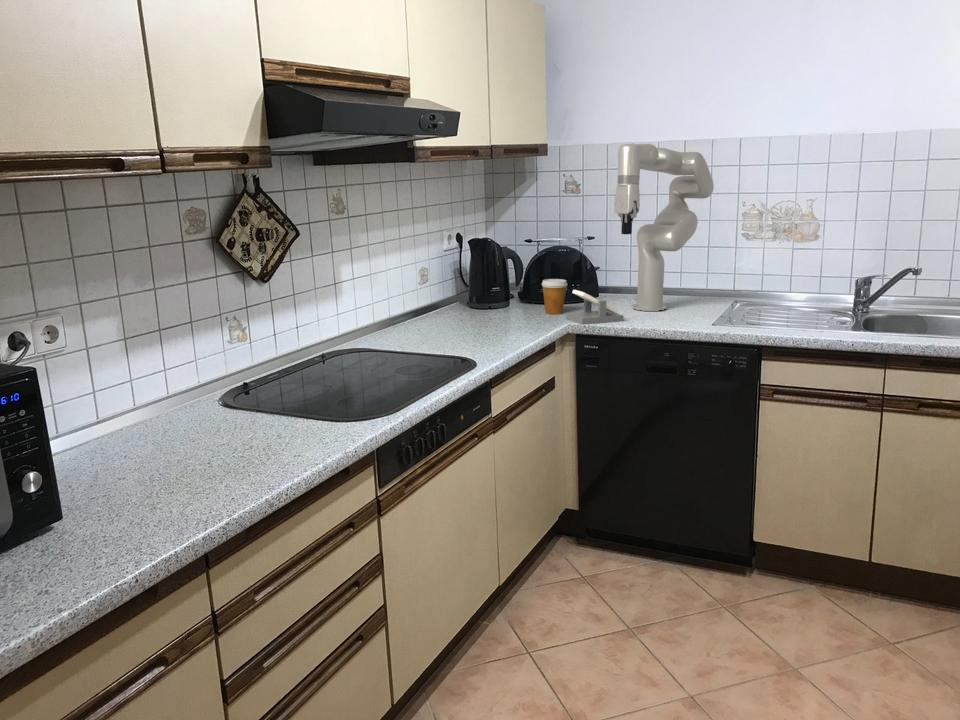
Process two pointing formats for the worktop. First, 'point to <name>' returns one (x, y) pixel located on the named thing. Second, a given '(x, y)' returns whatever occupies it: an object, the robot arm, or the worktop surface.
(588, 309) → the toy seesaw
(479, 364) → the worktop surface
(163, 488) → the worktop surface
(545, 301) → the disposable coffee cup
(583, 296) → the breaker rocker
